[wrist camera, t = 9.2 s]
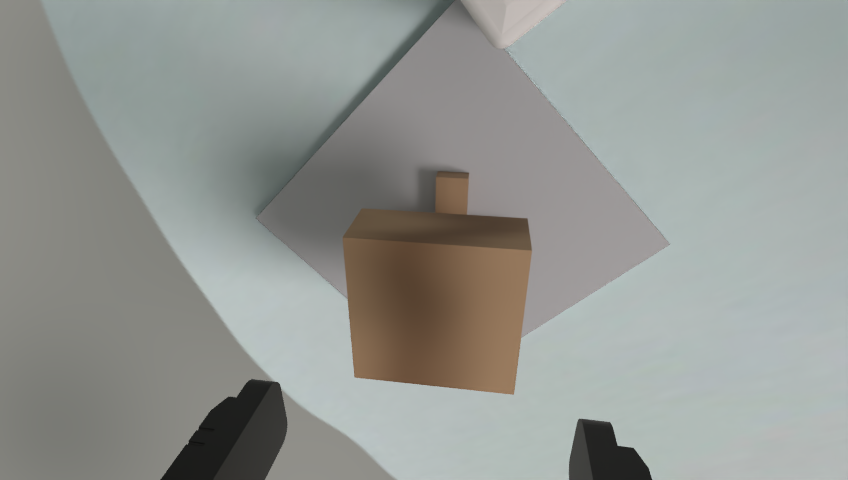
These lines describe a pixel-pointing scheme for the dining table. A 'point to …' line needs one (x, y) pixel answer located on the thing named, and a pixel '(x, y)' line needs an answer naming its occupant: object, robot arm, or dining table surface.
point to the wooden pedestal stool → (438, 293)
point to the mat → (468, 169)
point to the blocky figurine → (508, 17)
